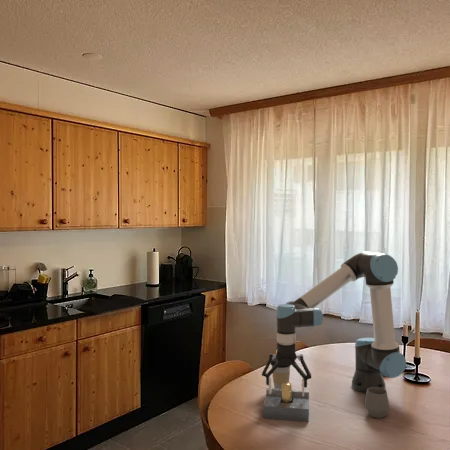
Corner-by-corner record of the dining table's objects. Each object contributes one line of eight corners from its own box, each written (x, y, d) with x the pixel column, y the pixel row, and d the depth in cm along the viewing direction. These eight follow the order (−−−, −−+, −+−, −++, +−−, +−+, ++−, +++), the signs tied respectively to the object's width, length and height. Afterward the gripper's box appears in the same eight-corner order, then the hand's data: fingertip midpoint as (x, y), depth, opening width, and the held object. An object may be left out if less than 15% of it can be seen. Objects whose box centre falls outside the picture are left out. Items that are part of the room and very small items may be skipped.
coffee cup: (290, 397, 200) (290, 363, 200) (269, 395, 202) (269, 362, 202) (291, 389, 210) (291, 357, 209) (271, 387, 211) (271, 356, 211)
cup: (386, 422, 175) (386, 397, 174) (362, 417, 180) (361, 392, 179) (391, 413, 183) (391, 389, 183) (368, 408, 188) (368, 384, 187)
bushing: (291, 411, 186) (291, 382, 186) (291, 415, 182) (291, 386, 182) (282, 410, 187) (282, 381, 186) (281, 414, 183) (281, 385, 183)
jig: (309, 407, 190) (309, 390, 189) (308, 421, 176) (308, 404, 176) (266, 404, 193) (266, 387, 193) (263, 418, 179) (262, 400, 179)
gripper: (317, 341, 185) (317, 392, 186) (257, 338, 190) (257, 388, 191) (317, 346, 178) (317, 399, 178) (254, 343, 183) (255, 395, 183)
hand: (286, 394), depth 184 cm, fingers open, 13 cm apart
